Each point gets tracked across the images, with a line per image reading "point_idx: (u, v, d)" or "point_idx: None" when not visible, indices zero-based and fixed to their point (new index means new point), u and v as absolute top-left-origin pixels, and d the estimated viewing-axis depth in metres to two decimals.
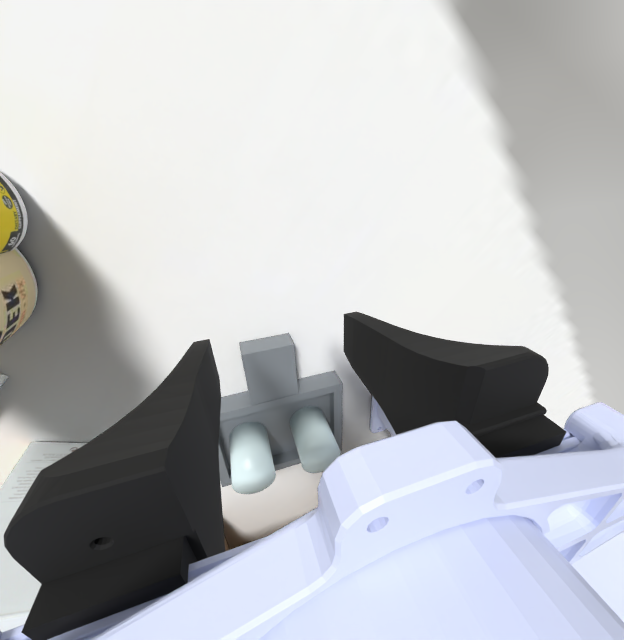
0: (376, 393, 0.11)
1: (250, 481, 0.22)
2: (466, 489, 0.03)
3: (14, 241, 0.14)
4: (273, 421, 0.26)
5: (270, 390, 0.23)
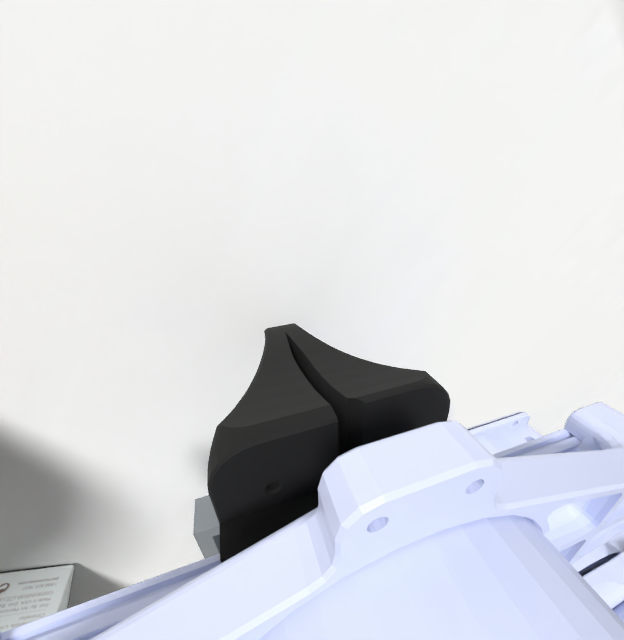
0: None
1: None
2: (466, 489, 0.03)
3: None
4: None
5: None
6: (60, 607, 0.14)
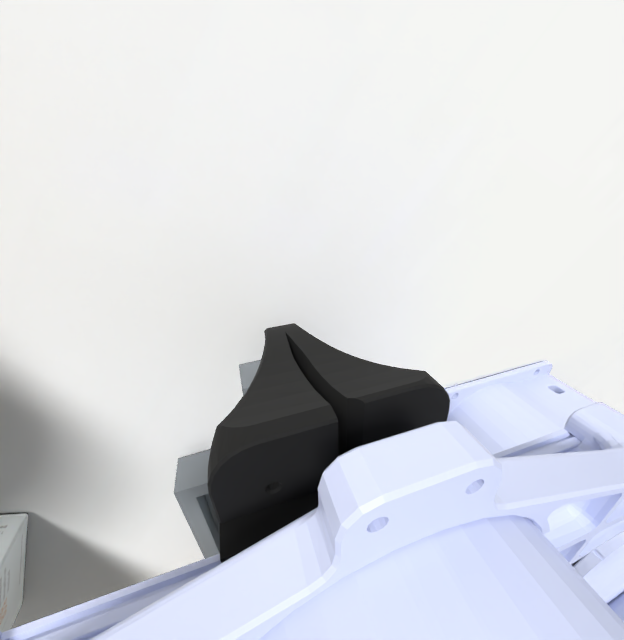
0: None
1: None
2: (466, 489, 0.03)
3: None
4: None
5: None
6: (5, 558, 0.12)
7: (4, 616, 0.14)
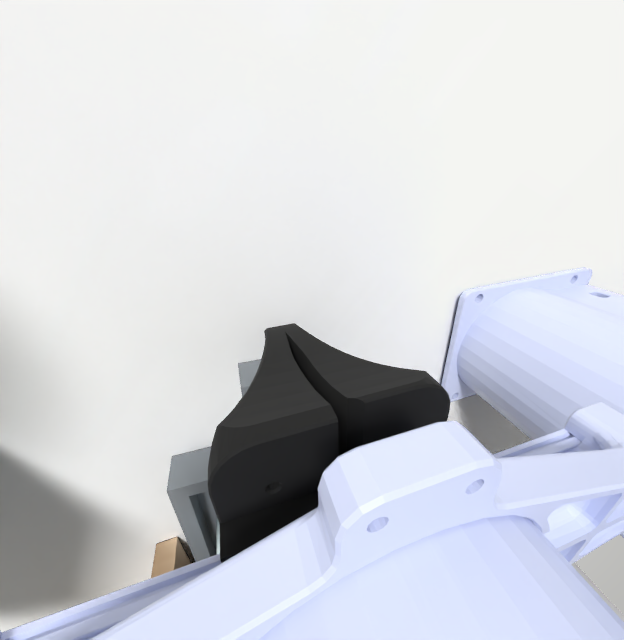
0: None
1: None
2: (466, 489, 0.03)
3: None
4: None
5: None
6: None
7: None
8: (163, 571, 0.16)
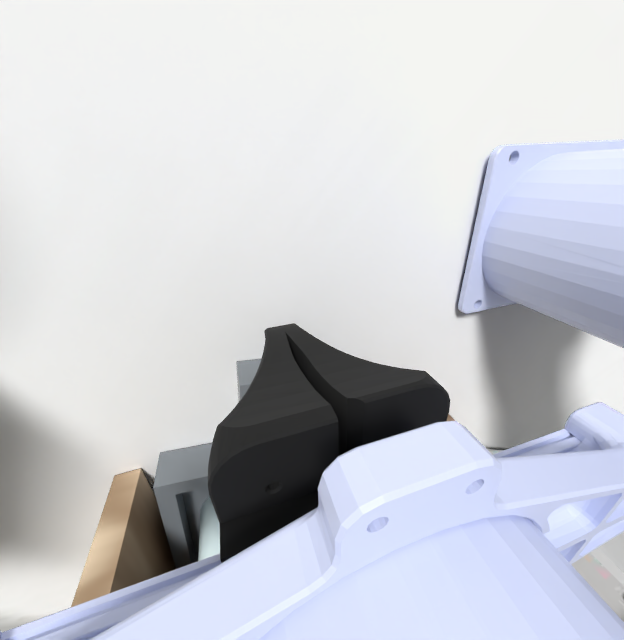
0: None
1: None
2: (466, 489, 0.03)
3: None
4: None
5: None
6: None
7: None
8: (119, 503, 0.13)
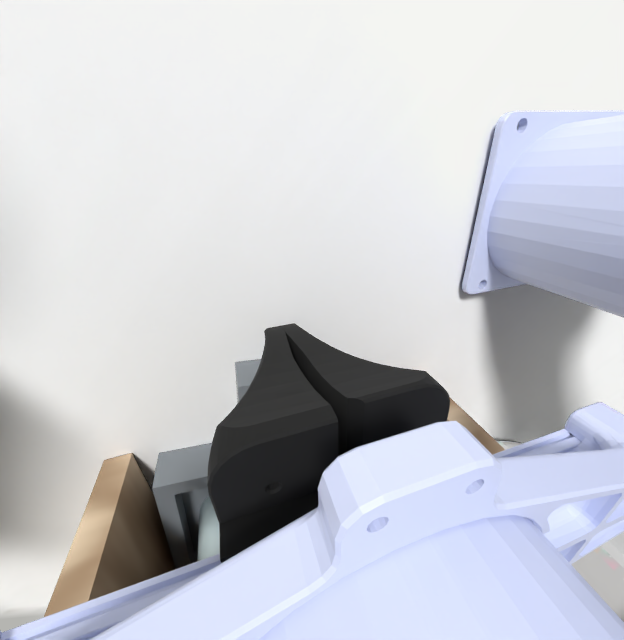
0: None
1: None
2: (466, 489, 0.03)
3: None
4: None
5: None
6: None
7: None
8: (108, 487, 0.12)
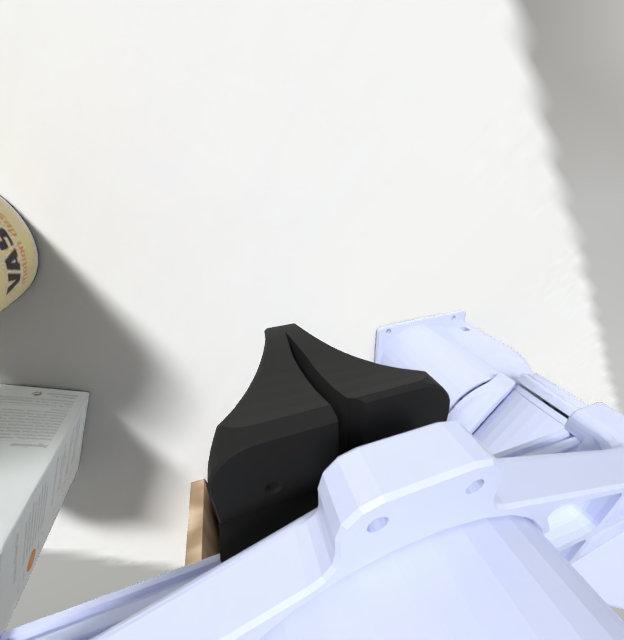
0: None
1: None
2: (466, 489, 0.03)
3: None
4: None
5: None
6: (80, 411, 0.19)
7: (73, 460, 0.21)
8: (197, 496, 0.26)
